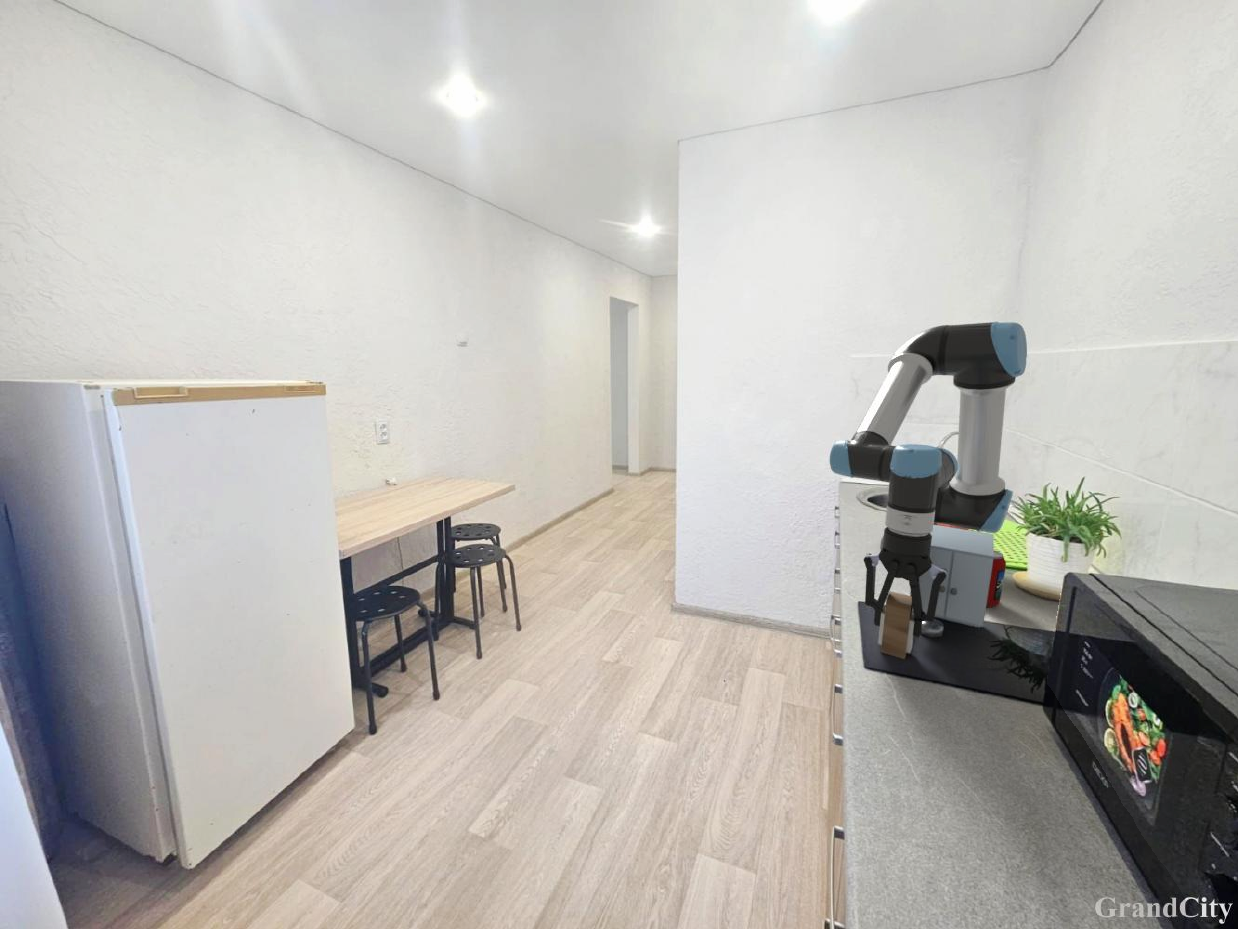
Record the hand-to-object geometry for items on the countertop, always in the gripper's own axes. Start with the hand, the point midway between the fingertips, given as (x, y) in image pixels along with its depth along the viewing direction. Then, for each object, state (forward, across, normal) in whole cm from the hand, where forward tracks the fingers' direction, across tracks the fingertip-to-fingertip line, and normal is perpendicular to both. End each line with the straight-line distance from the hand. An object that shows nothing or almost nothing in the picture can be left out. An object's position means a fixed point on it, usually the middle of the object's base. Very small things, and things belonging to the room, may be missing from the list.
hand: (894, 645), depth 93 cm
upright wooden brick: (+1, 0, +6) cm, 7 cm away
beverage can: (+1, +13, +33) cm, 35 cm away
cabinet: (+1, +7, +14) cm, 16 cm away
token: (+1, +4, +12) cm, 13 cm away
